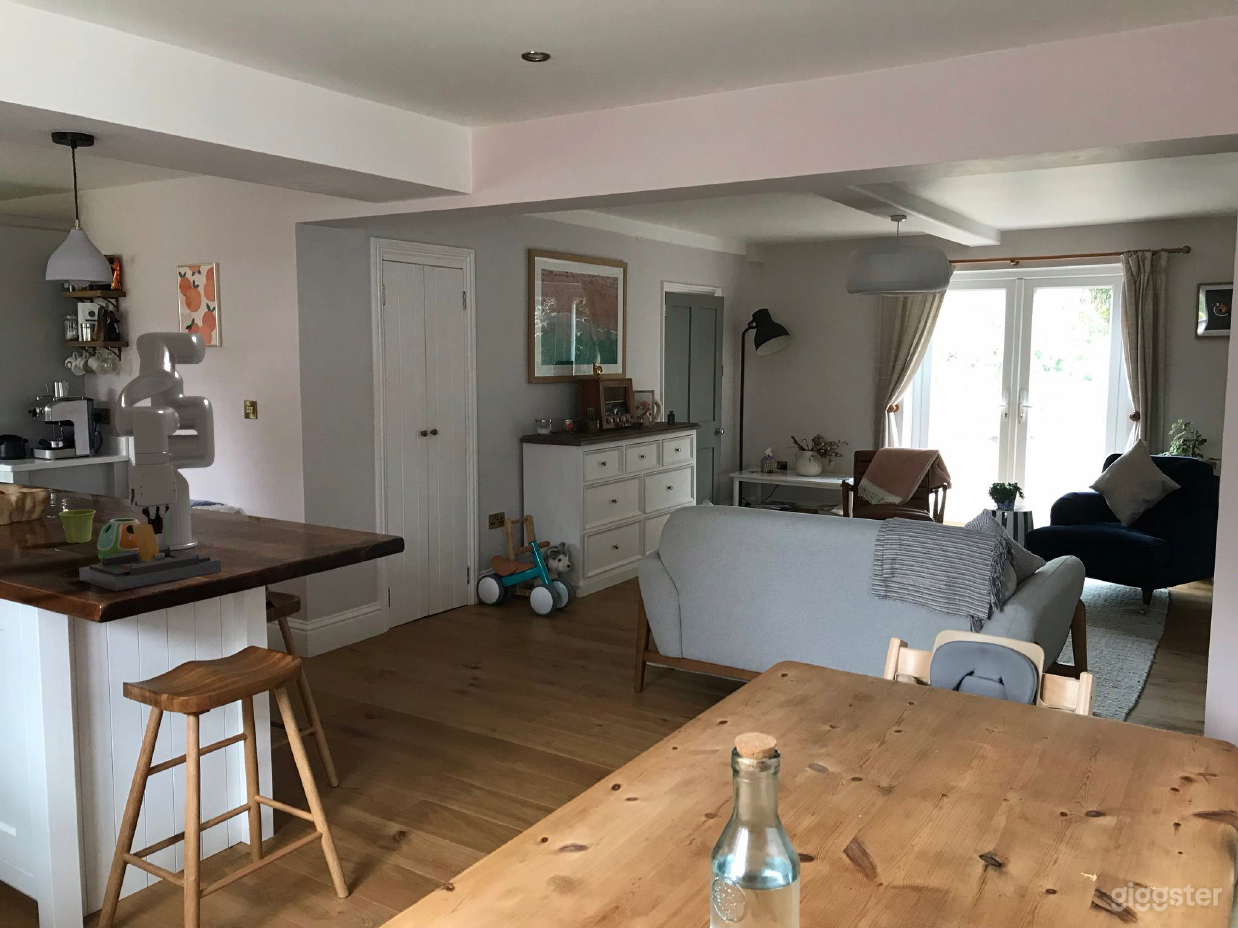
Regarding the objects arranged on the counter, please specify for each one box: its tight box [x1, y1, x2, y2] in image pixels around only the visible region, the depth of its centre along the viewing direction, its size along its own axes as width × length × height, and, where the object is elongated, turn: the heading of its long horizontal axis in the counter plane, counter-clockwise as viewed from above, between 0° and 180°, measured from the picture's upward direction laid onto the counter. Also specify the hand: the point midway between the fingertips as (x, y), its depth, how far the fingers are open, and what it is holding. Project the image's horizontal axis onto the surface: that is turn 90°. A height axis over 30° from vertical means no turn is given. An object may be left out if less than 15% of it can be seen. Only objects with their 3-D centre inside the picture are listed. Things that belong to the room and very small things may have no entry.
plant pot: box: [58, 509, 96, 544], centre depth 285 cm, size 9×9×9 cm
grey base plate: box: [78, 550, 222, 592], centre depth 241 cm, size 18×26×6 cm
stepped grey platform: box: [102, 546, 200, 576], centre depth 241 cm, size 20×18×2 cm
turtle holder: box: [96, 517, 141, 564], centre depth 255 cm, size 12×18×12 cm
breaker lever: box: [132, 522, 159, 562], centre depth 240 cm, size 6×2×9 cm, turn 52°
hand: (155, 533), depth 242 cm, fingers closed
